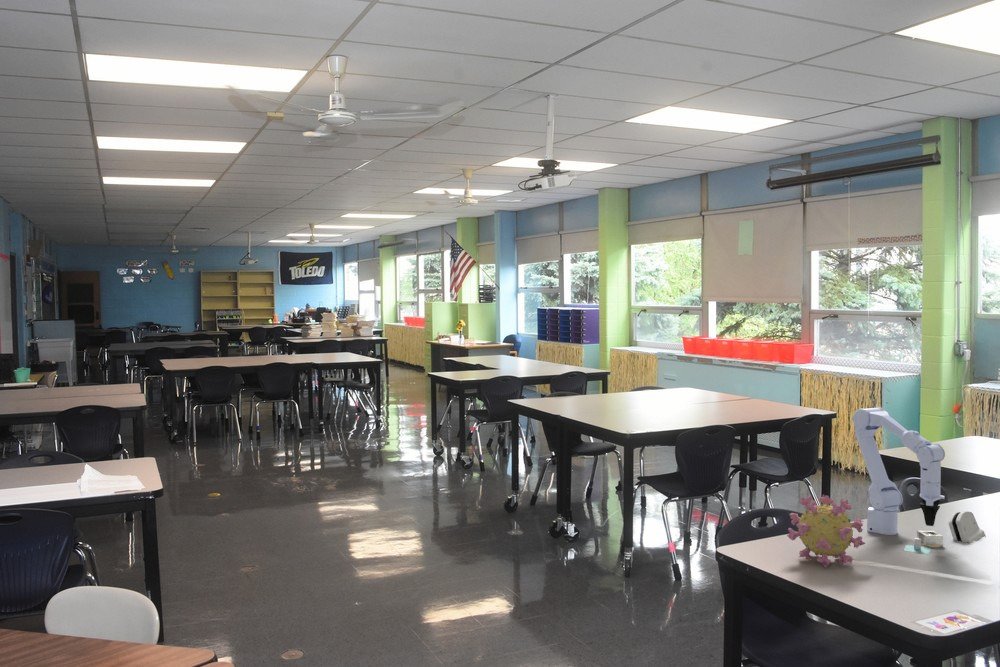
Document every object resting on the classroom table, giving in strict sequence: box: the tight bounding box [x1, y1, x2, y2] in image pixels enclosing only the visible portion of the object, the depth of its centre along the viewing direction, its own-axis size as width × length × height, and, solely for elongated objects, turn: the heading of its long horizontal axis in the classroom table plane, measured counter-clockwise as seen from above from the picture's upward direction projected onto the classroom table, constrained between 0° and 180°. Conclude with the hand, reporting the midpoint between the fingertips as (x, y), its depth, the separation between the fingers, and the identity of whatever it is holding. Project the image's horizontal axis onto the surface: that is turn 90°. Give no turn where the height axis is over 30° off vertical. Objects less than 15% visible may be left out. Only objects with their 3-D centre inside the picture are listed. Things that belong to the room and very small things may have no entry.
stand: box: [903, 537, 932, 555], centre depth 246 cm, size 7×7×4 cm
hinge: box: [948, 511, 986, 544], centre depth 260 cm, size 17×5×10 cm, turn 133°
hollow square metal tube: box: [916, 530, 944, 546], centre depth 252 cm, size 6×6×3 cm
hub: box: [921, 534, 943, 548], centre depth 252 cm, size 7×7×4 cm
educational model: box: [786, 494, 866, 569], centre depth 237 cm, size 23×22×20 cm
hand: (930, 522), depth 250 cm, fingers open, 7 cm apart
